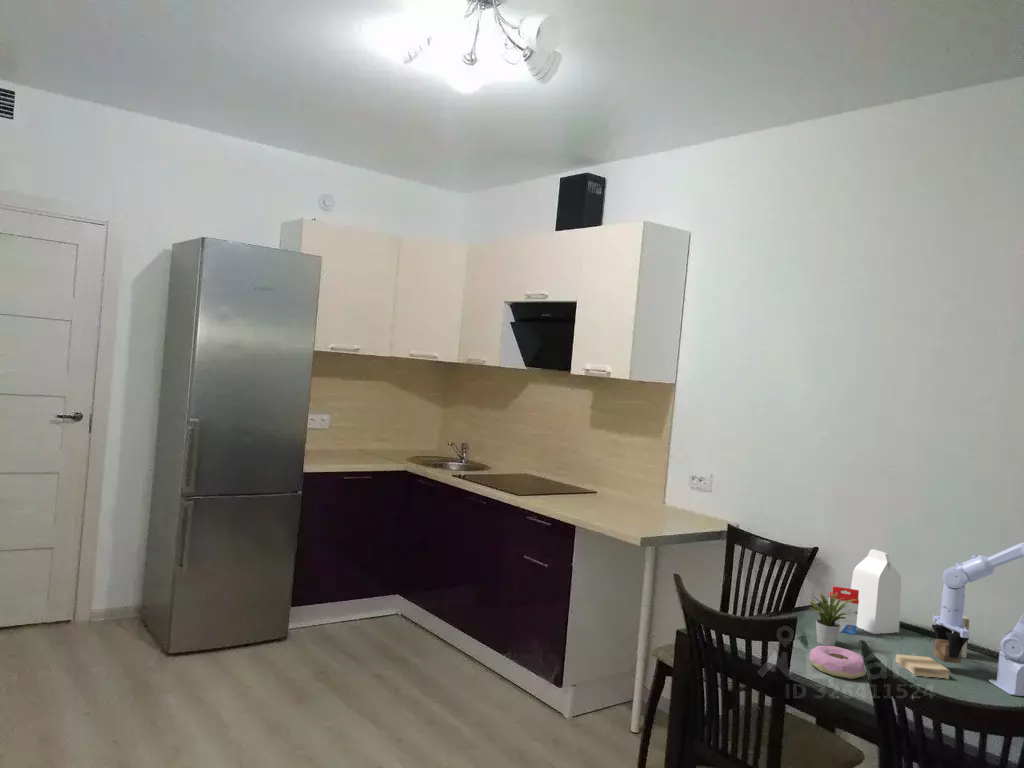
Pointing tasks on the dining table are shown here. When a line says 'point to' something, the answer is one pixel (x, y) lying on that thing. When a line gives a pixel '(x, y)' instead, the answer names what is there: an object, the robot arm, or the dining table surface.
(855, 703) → the dining table surface
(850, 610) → the ink box
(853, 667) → the donut
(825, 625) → the house plant
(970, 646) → the dining table surface
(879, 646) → the dining table surface
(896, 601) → the milk
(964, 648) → the skincare box
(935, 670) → the oak block
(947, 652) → the walnut cube
